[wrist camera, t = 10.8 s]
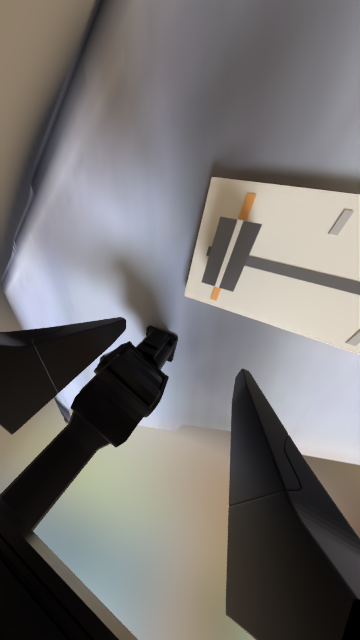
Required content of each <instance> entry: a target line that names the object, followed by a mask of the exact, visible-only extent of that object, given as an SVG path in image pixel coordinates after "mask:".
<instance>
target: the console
mask: <svg viewBox="0 0 360 640" xmlns="http://www.w3.org/2000/svg"><path fill="white" fill-rule="evenodd" d="M220 216H221V217H226V218H231V219H237V220H243V221H248V222H253V223H259V224H262V226H261V229H260V231H259V233H258V235H257V238H256V240H255V242H254V245H253V247H252V249H251V252H250V254H249V256H248V259H247V261H246V263H245V266H244V268H243V270H242V273H241V275H240V277H239V280H238V282H237V284H236V287H235V289H234V291H233V292H232V291H228V290H225V289H222V288H218V287H215V286H212V285H209V284H205V283H202V278H203V275H204V271H205V268H206V264H207V261H208V257H209V254H210V251H211V247H212V244H213V240H214V237H215V233H216V230H217V226H218V223H219V219H220ZM184 296H186V297H189V298H192V299H195V300H198V301H201V302H204V303H207V304H210V305H213V306H216V307H219V308H222V309H225V310H228V311H231V312H234V313H237V314H240V315H243V316H246V317H249V318H252V319H255V320H258V321H261V322H264V323H267V324H270V325H273V326H276V327H279V328H282V329H285V330H287V331H290V332H293V333H296V334H299V335H302V336H305V337H308V338H311V339H314V340H317V341H320V342H323V343H326V344H329V345H332V346H335V347H338V348H341V349H344V350H347V351H350V352H353V353H356V354H359V355H360V194H351V193H343V192H335V191H326V190H318V189H310V188H301V187H293V186H285V185H276V184H268V183H260V182H251V181H243V180H235V179H226V178H218V177H212V179H211V183H210V187H209V191H208V196H207V200H206V204H205V209H204V213H203V217H202V221H201V226H200V230H199V234H198V239H197V243H196V247H195V251H194V256H193V260H192V264H191V269H190V273H189V277H188V281H187V286H186V290H185V294H184Z"/></svg>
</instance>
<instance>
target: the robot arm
mask: <svg viewBox="0 0 360 640" xmlns="http://www.w3.org/2000/svg"><path fill="white" fill-rule="evenodd" d="M149 328H150V329H149ZM125 329H126V319H124V318H122V317H118V318H111V319H104V320H98V321H91V322H84V323H77V324H70V325H63V326H56V327H49V328H40V329H31V330H21V331H12V332H0V425H1V426H2V427H3V428H4V429H6V430H7V431H8V432H9V433H10V434H13V433H15V432H16V431H17V430H18V429H19V428H20V427H22V426H23V424H25V423H26V422H27V421H28V420H29V419H30V418H31V417H33V416H34V415H35V414H36V413H37V412H38V411H39V410H40V409H41V408H43V407H44V406H45V405H46V404H47V403H48V402H49V401H50V400H51V399H53V398H54V397H55V396H56V395H57V394H58V393H59V392H60V391H61V390H62V389H63V388H65V387H66V386H67V385H68V384H69V383H70V382H71V381H72V380H73V379H74V378H76V377H77V376H78V375H79V374H80V373H81V372H82V371H83V370H84V369H86V368H87V367H88V366H89V365H90V364H91V363H92V362H93V361H94V360H95V359H97V358H98V357H99V356H100V355H101V354H102V353H103V352H104V351H105V350H106V349H108V348H109V347H110V346H111V345H112V344H113V343H114V342H115V341H116V340H117V339H118V337H119V336H120V335H121V334H122V333H123V332H124V331H125ZM175 339H176V340H175ZM177 341H178V338H177V337H176V336H174V335H171V334H169V333H166V332H164V331H161V330H159V329H157V328H154V327H152V326H148V327H147V332H146V338H145V339H143V341H142V342H141V343H140V344H139V345H138V346H136V347H135V346H134V345H132V343H131V342H130V341H129V342H127V343H124V344H121V345H120V346H119V347H118V348H116V349H115V350H113V351H111V352H109V353H107V354H105V355H103V356H102V357H101V358H100V363H99V364H98V366H97V367H96V369H95V370H94V373H96V375H95V376H94V377H93V378H92V379H91V380H90V381H89V382H88V383H87V384H86V385H85V386H84V387H83V388H82V389H81V391H80V393H79V394H78V395H77V396H76V397H75V399H74V401H73V403H72V405H71V409H72V410H73V413H72V415H71V418H70V421H69V424H68V425H67V426H66V427H65V428H64V429H63V430H62V431H61V432H60V433H59V434H58V435H57V436H56V437H55V438H54V439H53V441H52V442H51V443H50V444H49V445H48V446H47V447H46V448H45V449H44V450H43V451H42V452H41V453H40V454H39V455H38V456H37V457H36V458H35V459H34V460H33V461H32V462H31V463H30V464H29V465H28V466H27V467H26V469H24V471H23V472H22V473H21V474H20V475H19V476H18V477H17V478H16V479H15V480H14V481H13V482H12V483H11V484H10V485H9V486H8V487H7V488H6V489H5V490H4V491H3V492H2V493H1V494H0V640H138V639H137V638H136V637H135V636H134V635H133V634H132V633H131V632H130V631H129V630H128V629H127V628H126V627H125V626H124V625H123V624H122V623H121V622H120V621H119V620H118V619H117V618H116V617H115V616H114V615H113V614H112V612H111V611H109V609H108V608H107V607H106V606H105V605H104V604H103V603H102V602H101V601H100V600H99V599H98V598H97V597H96V596H95V595H94V594H93V593H92V592H91V591H90V590H89V589H88V588H87V587H86V586H85V585H84V584H83V583H82V582H81V581H80V579H79V578H78V577H76V576H75V574H73V572H72V571H71V570H70V569H69V568H68V567H67V566H66V565H65V564H64V563H63V562H62V561H61V560H60V559H59V558H58V557H57V556H56V555H55V554H54V553H53V552H52V551H51V550H50V549H49V548H48V546H47V545H46V544H44V543H43V541H42V540H41V539H40V538H39V537H38V536H37V535H36V534H35V533H34V532H33V530H34V529H35V528H36V526H37V525H38V524H39V522H40V521H41V520H42V519H43V517H44V516H45V515H46V514H47V513H48V511H49V510H50V509H51V508H52V506H53V505H54V504H55V503H56V501H57V500H58V499H59V498H60V496H61V495H62V494H63V492H64V491H65V490H66V489H67V488H68V486H69V485H70V484H71V483H72V481H73V480H74V479H75V478H76V476H77V475H78V474H79V473H80V471H81V470H82V469H83V468H84V466H85V465H86V464H87V463H88V461H89V460H90V459H91V458H92V456H93V455H94V454H95V453H96V451H97V450H99V449H100V448H103V447H105V446H107V445H109V444H112V445H113V446H115V447H118V446H119V445H121V444H122V443H124V442H125V441H126V440H127V439H128V437H129V436H130V435H131V433H132V431H133V430H134V429H135V428H136V426H137V425H138V423H139V422H140V421H141V420H142V418H143V417H147V416H149V415H150V414H151V413H152V412H153V410H154V409H155V408H156V406H157V405H158V403H159V402H160V400H161V398H162V395H163V392H164V389H165V387H166V384H167V381H168V378H169V377H168V376H167V375H165V374H164V373H163V372H162V371H161V368H162V367H163V365H164V364H165V362H166V361H169V362H172V360H173V357H174V353H175V349H176V345H177ZM229 486H230V487H229V506H230V507H229V515H228V550H227V582H226V615H227V616H228V617H229V618H231V619H232V620H233V621H234V622H235V623H237V624H238V625H239V626H240V627H241V628H243V629H244V630H245V631H246V632H247V633H248V634H250V635H251V636H252V637H253V638H254V639H256V640H360V538H359V537H358V535H357V534H356V533H355V531H354V530H353V528H352V527H351V526H350V524H349V523H348V521H347V520H346V519H345V517H344V516H343V514H342V513H341V512H340V510H339V509H338V507H337V506H336V504H335V503H334V501H333V500H332V498H331V497H330V496H329V494H328V493H327V491H326V490H325V488H324V487H323V486H322V484H321V483H320V481H319V480H318V478H317V477H316V475H315V474H314V473H313V471H312V470H311V468H310V467H309V465H308V464H307V462H306V461H305V459H304V458H303V456H302V455H301V453H300V452H299V450H298V448H297V447H296V445H295V444H294V442H293V441H292V439H291V437H290V436H289V435H288V433H287V431H286V429H285V428H284V426H283V425H282V423H281V421H280V420H279V418H278V417H277V415H276V413H275V412H274V410H273V409H272V407H271V405H270V404H269V402H268V401H267V399H266V397H265V396H264V394H263V393H262V391H261V389H260V388H259V386H258V385H257V383H256V381H255V380H254V378H253V377H252V375H251V374H250V372H249V371H247V370H245V369H241V370H240V372H239V373H238V375H237V376H236V379H235V385H234V392H233V399H232V417H231V451H230V485H229Z"/></svg>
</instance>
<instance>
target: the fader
mask: <svg viewBox="0 0 360 640" xmlns="http://www.w3.org/2000/svg"><path fill="white" fill-rule="evenodd" d="M261 226H262V224H259V223H253V222H248V221H243V220H237V219H231V218H226V217H221V216H220V219H219V223H218V226H217V230H216V233H215V237H214V240H213V244H212V247H211V251H210V254H209V257H208V261H207V264H206V268H205V271H204V275H203V278H202V283H205V284H209V285H212V286H215V287H218V288H222V289H225V290H228V291H232V292H233V291H234V289H235V287H236V284H237V282H238V280H239V277H240V275H241V273H242V270H243V268H244V266H245V263H246V261H247V259H248V256H249V254H250V252H251V249H252V247H253V245H254V242H255V240H256V238H257V235H258V233H259V231H260V229H261Z"/></svg>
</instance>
